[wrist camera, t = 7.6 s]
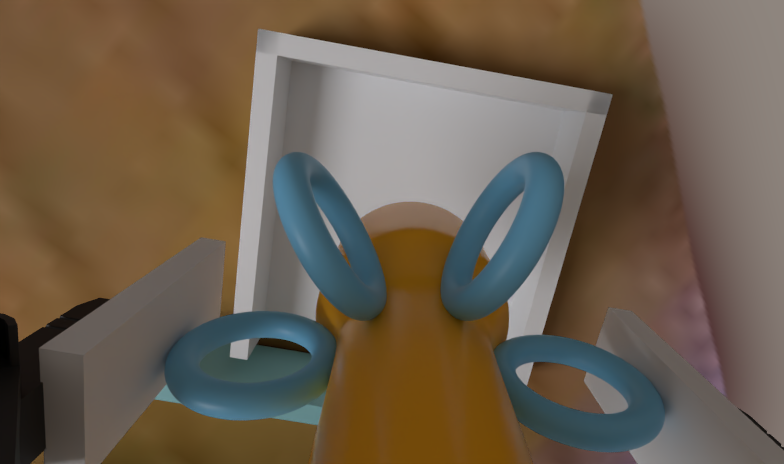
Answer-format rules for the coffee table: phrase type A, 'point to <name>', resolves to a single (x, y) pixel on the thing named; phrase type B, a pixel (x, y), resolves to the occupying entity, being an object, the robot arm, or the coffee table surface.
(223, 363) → the gate
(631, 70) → the coffee table surface
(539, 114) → the white square tray
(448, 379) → the orange tube with rings
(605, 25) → the coffee table surface
